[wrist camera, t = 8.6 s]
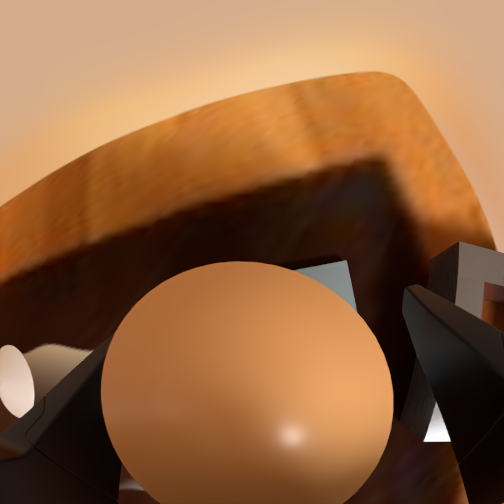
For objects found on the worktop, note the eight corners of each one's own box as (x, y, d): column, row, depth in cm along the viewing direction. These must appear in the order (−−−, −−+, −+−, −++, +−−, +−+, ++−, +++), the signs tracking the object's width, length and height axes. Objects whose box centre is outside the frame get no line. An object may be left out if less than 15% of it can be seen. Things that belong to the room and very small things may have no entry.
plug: (310, 404, 15) (330, 552, 3) (229, 383, 16) (87, 468, 4) (333, 324, 16) (425, 299, 4) (252, 304, 17) (141, 233, 5)
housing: (512, 420, 12) (544, 430, 8) (399, 421, 14) (424, 441, 10) (533, 284, 15) (567, 273, 11) (430, 260, 16) (459, 241, 13)
